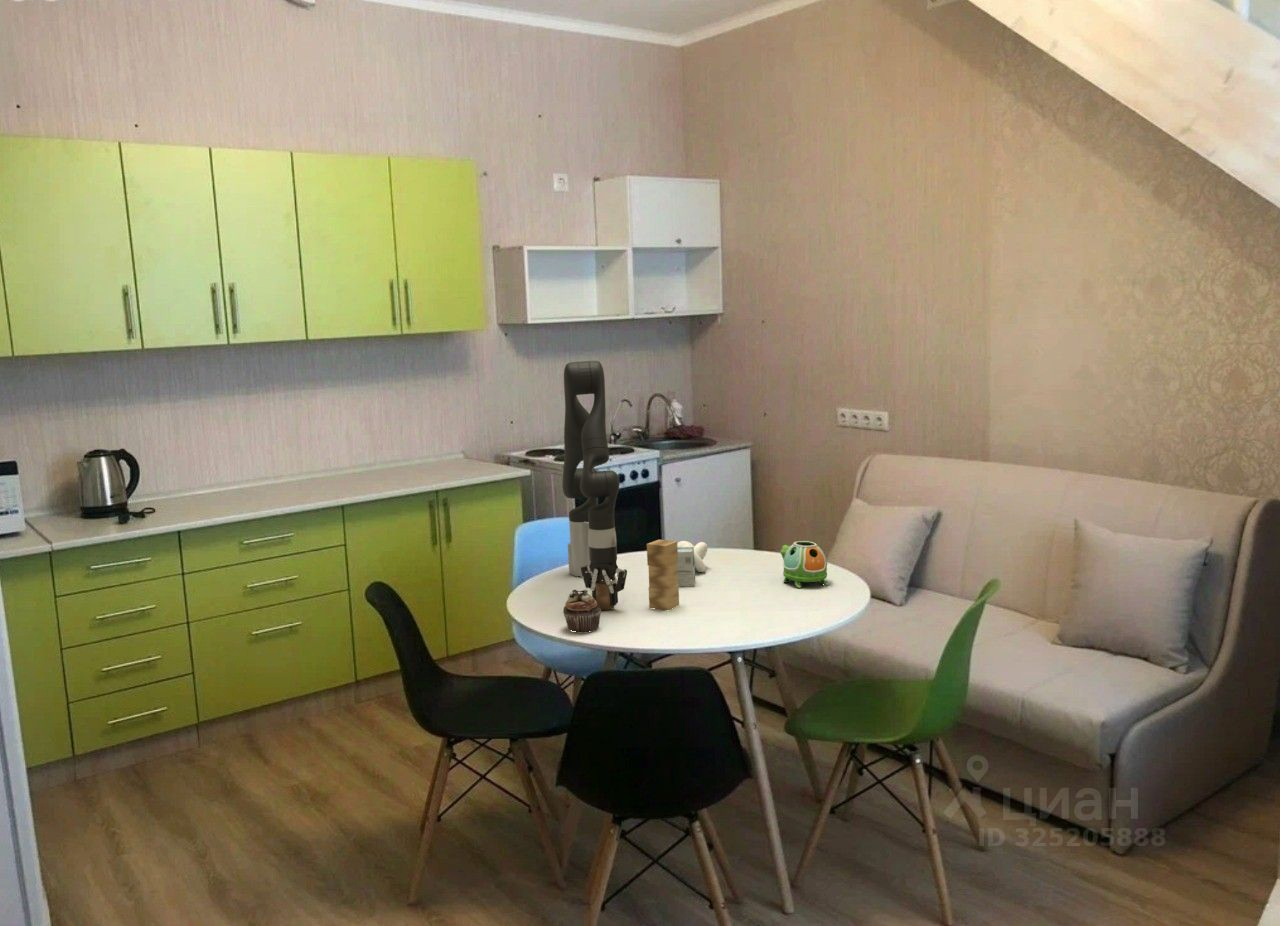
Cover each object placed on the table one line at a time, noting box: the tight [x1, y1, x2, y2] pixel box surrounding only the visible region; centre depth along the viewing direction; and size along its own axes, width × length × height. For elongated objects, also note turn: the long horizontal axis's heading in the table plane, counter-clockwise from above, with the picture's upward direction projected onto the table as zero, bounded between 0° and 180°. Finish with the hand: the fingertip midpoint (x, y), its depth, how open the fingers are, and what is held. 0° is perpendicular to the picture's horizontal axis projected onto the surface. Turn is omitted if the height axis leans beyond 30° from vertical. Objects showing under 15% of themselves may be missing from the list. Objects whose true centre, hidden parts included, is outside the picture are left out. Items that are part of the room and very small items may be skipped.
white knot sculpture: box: [677, 540, 708, 573], centre depth 318 cm, size 11×12×9 cm
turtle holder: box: [780, 540, 828, 589], centre depth 300 cm, size 12×18×12 cm
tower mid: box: [647, 564, 678, 589], centre depth 280 cm, size 6×6×6 cm
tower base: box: [648, 584, 680, 611], centre depth 280 cm, size 6×6×6 cm
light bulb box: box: [677, 545, 696, 587], centre depth 303 cm, size 11×7×11 cm, turn 84°
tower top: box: [646, 539, 678, 568], centre depth 279 cm, size 6×6×6 cm
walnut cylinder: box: [596, 580, 615, 611], centre depth 281 cm, size 5×5×7 cm
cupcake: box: [563, 589, 602, 633], centre depth 264 cm, size 10×10×10 cm
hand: (605, 604), depth 281 cm, fingers closed on walnut cylinder, 4 cm apart
